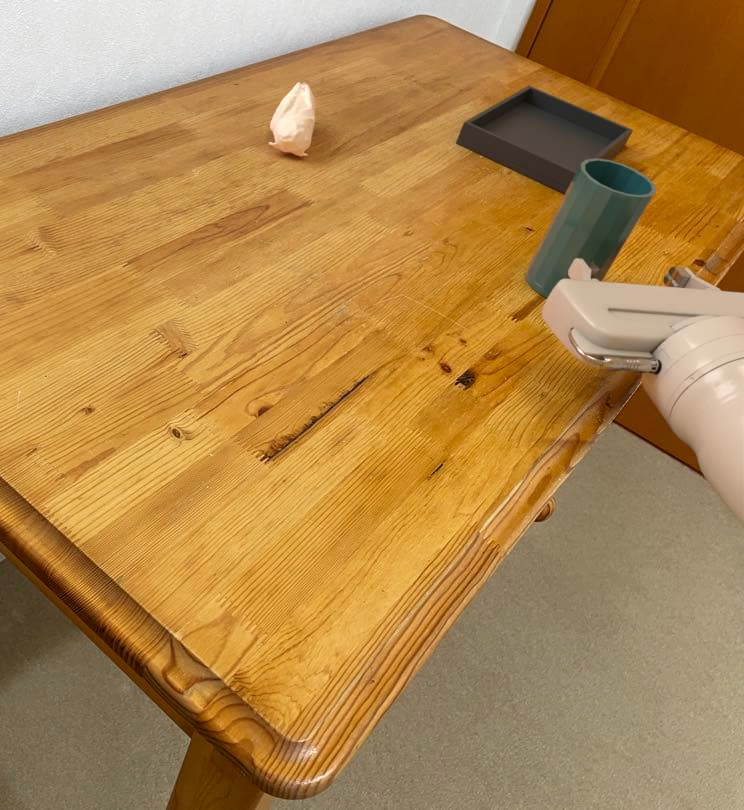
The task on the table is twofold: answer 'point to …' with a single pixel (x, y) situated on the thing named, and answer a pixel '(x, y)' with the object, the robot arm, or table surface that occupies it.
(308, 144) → the white crumpled piece
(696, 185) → the table surface
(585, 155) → the tray
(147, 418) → the table surface
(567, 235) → the cup
